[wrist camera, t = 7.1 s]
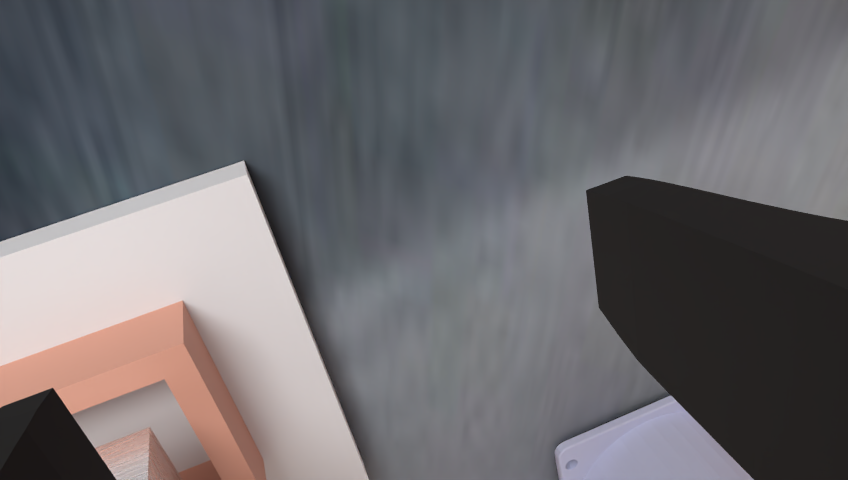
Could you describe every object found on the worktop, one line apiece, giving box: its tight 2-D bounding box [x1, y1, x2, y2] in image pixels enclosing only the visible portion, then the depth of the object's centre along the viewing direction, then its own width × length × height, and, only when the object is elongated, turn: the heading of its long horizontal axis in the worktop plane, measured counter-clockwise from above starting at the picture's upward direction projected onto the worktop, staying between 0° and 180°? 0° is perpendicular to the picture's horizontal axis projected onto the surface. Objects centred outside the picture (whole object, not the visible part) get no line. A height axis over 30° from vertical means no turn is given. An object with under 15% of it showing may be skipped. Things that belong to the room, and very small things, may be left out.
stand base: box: [0, 161, 369, 480], centre depth 19 cm, size 12×12×4 cm
